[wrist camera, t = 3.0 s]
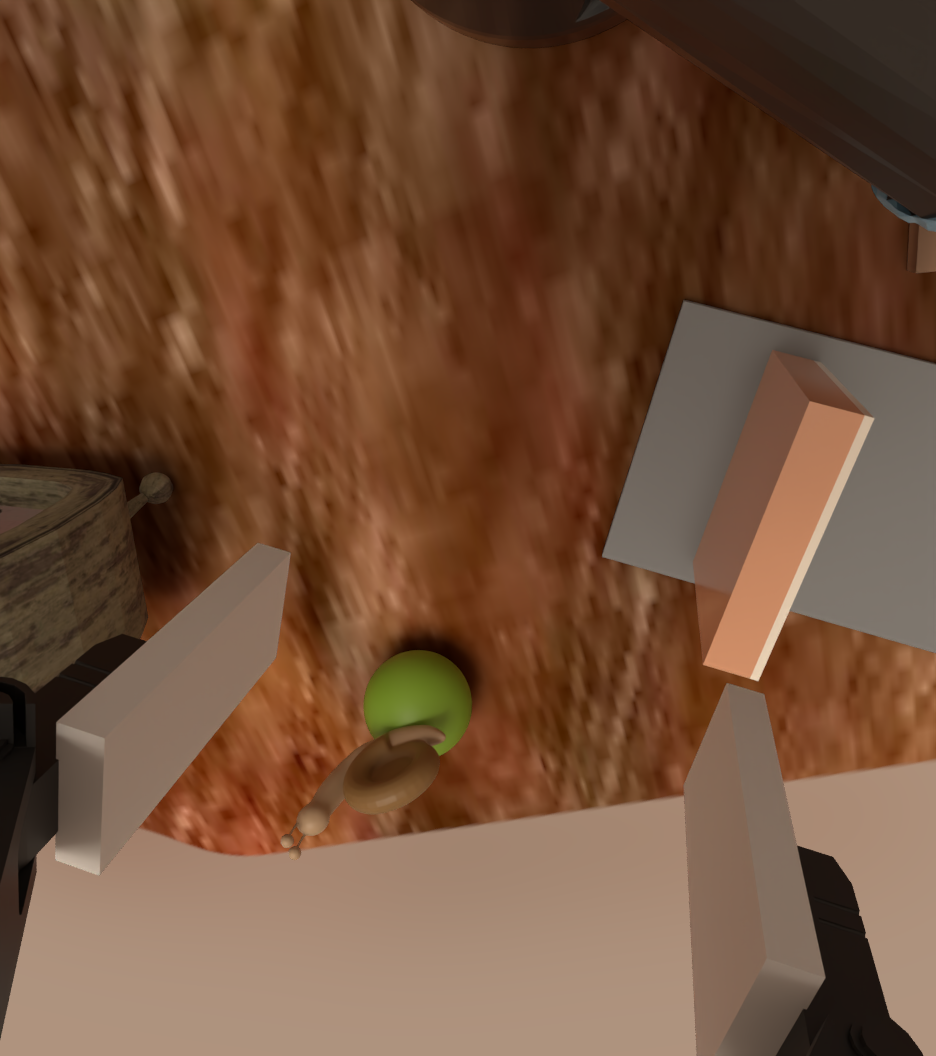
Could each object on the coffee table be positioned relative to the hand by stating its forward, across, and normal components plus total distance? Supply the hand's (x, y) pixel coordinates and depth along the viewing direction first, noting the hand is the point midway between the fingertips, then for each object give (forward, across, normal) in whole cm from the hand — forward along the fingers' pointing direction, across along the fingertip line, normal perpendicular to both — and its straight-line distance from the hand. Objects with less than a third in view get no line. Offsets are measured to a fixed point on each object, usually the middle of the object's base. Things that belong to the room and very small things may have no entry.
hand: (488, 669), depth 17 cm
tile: (+21, +8, 0) cm, 22 cm away
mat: (+22, +11, 0) cm, 24 cm away
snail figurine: (+22, -4, -16) cm, 27 cm away
